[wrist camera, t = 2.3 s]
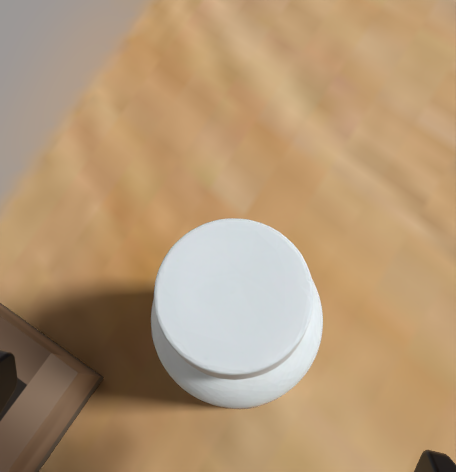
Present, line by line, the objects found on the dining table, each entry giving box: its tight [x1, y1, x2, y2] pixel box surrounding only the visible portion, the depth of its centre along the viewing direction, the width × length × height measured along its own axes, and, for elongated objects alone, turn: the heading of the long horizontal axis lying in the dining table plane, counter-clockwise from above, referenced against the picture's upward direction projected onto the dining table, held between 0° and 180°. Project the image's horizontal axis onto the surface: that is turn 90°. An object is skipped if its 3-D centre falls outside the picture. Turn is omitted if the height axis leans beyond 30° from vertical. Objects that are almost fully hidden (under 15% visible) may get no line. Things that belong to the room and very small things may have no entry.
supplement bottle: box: [151, 219, 323, 409], centre depth 15 cm, size 5×5×10 cm
